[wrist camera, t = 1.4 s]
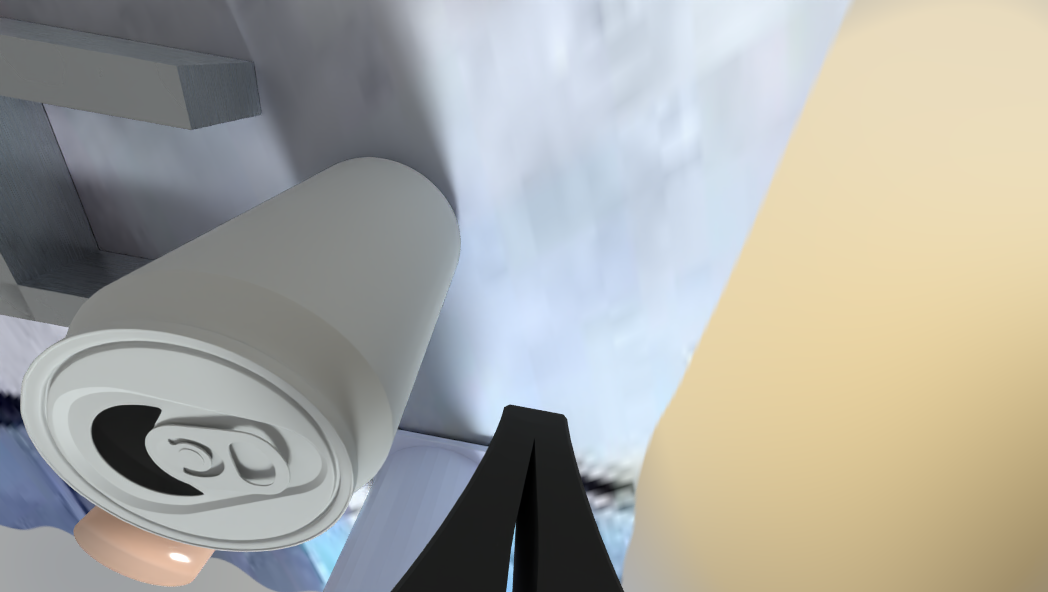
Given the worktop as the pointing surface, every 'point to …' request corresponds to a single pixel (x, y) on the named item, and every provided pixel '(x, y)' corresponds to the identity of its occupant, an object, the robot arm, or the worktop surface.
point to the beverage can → (252, 363)
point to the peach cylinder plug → (138, 550)
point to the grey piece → (40, 171)
